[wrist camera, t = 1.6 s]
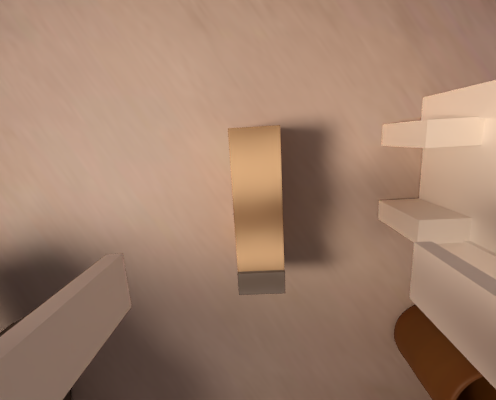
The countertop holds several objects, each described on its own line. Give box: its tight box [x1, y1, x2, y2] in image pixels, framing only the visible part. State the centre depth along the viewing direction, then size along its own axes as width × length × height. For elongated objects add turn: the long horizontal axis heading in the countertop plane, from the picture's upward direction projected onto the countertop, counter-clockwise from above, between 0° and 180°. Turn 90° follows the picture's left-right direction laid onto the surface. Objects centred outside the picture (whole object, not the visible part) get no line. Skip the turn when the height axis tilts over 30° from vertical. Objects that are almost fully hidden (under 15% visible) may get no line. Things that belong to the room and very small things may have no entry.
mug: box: [394, 305, 496, 400], centre depth 26 cm, size 12×8×9 cm, turn 165°
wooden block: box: [228, 125, 285, 295], centre depth 25 cm, size 14×4×6 cm, turn 3°
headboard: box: [378, 80, 496, 279], centre depth 19 cm, size 6×14×16 cm, turn 3°
